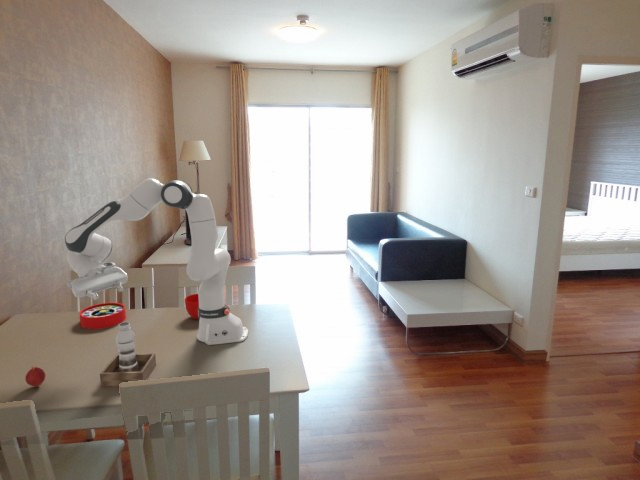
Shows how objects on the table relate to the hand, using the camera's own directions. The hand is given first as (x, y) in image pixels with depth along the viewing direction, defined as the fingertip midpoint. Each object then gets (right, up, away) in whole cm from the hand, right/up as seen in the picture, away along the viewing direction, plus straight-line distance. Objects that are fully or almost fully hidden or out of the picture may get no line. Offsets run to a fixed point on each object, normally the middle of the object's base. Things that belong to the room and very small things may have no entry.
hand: (109, 293), depth 164 cm
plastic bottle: (+11, -29, -7) cm, 32 cm away
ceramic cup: (+22, -17, +50) cm, 57 cm away
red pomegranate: (-18, -31, -15) cm, 39 cm away
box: (+11, -29, -7) cm, 32 cm away
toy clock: (-24, -19, +43) cm, 53 cm away
